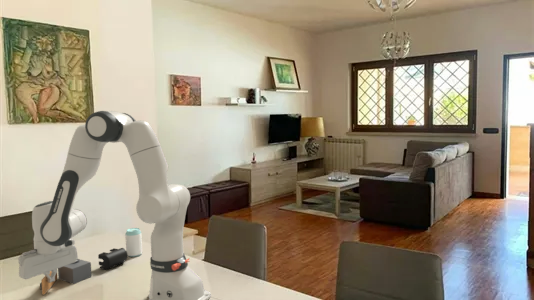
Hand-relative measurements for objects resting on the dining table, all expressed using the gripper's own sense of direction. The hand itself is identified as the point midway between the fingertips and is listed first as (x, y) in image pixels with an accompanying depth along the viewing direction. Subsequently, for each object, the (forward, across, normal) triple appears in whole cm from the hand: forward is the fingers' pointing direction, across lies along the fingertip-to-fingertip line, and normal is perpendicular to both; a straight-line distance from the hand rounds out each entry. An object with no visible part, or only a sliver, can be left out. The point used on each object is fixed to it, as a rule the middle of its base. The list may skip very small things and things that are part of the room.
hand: (51, 281), depth 146 cm
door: (+3, +1, +4) cm, 6 cm away
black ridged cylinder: (+4, +28, +1) cm, 28 cm away
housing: (+4, +12, +4) cm, 13 cm away
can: (+4, +42, +5) cm, 42 cm away
